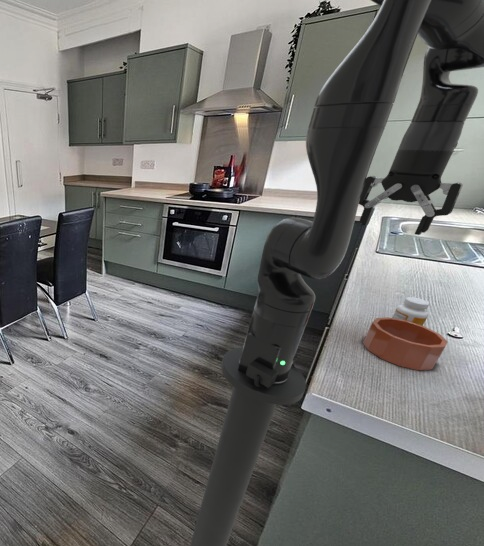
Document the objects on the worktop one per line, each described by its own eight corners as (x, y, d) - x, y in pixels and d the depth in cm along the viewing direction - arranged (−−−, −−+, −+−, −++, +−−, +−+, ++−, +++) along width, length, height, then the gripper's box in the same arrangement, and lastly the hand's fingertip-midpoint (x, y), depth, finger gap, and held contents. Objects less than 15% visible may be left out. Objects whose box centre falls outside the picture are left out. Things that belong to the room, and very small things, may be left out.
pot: (427, 377, 64) (441, 354, 62) (357, 348, 73) (366, 327, 70) (438, 357, 70) (451, 335, 68) (372, 332, 79) (381, 312, 76)
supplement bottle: (415, 334, 78) (433, 300, 74) (415, 343, 75) (434, 308, 71) (386, 326, 82) (402, 293, 78) (385, 334, 78) (401, 300, 75)
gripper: (372, 147, 64) (343, 224, 70) (479, 149, 53) (434, 240, 59) (382, 147, 68) (354, 220, 74) (484, 149, 57) (441, 235, 63)
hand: (390, 229), depth 67 cm, fingers open, 8 cm apart
